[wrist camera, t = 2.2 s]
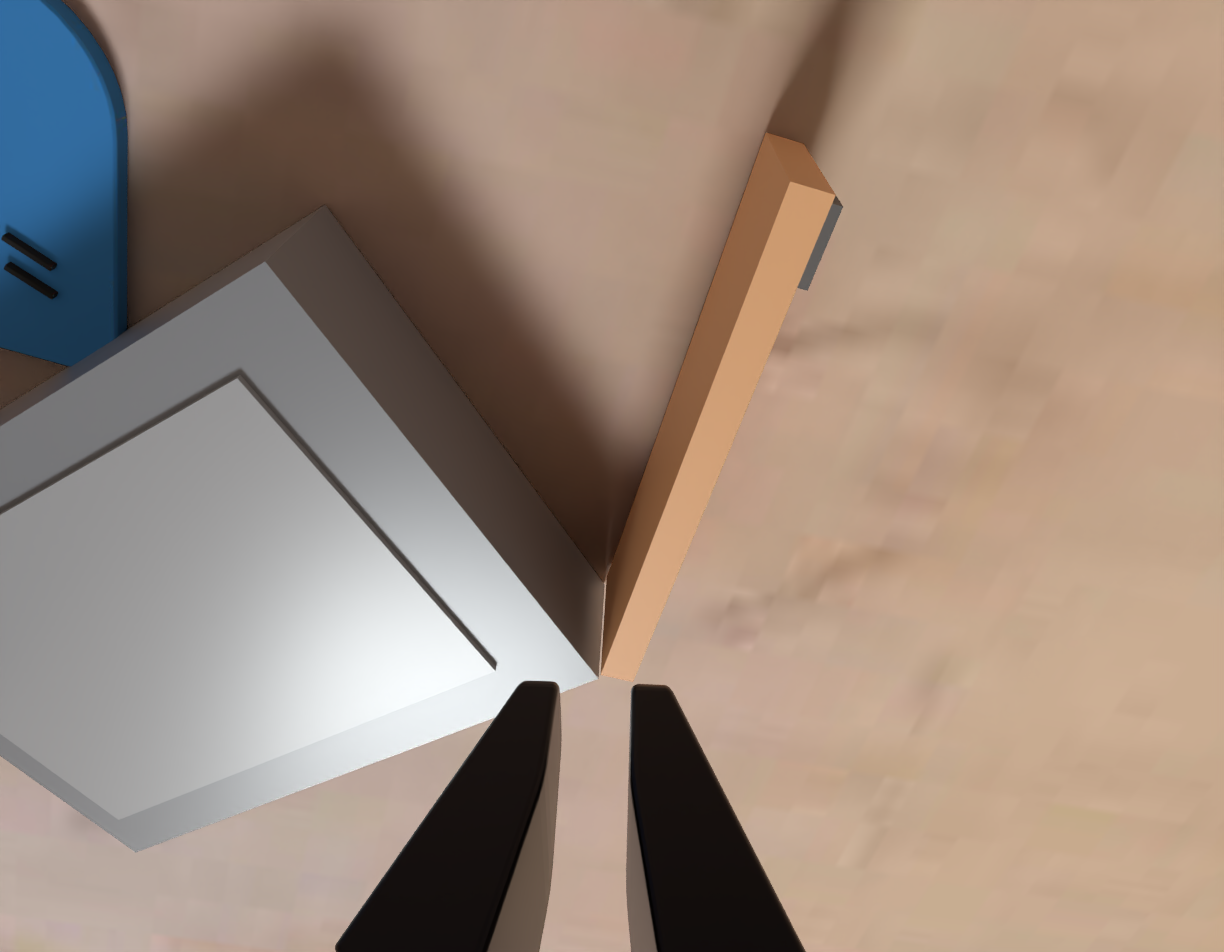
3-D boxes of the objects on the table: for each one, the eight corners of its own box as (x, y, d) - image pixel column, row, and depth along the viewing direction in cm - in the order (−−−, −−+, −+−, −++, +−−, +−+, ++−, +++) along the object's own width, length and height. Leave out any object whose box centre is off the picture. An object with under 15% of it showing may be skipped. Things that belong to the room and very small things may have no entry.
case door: (606, 576, 24) (600, 674, 21) (766, 132, 17) (790, 181, 14) (648, 587, 24) (649, 685, 21) (822, 149, 17) (858, 202, 14)
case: (187, 756, 29) (133, 857, 26) (-135, 495, 23) (-252, 584, 20) (604, 584, 24) (597, 683, 21) (325, 204, 19) (262, 264, 16)
